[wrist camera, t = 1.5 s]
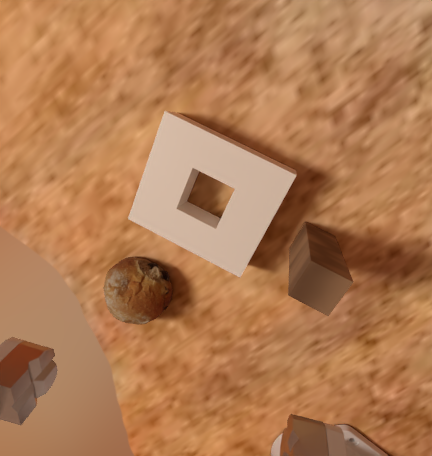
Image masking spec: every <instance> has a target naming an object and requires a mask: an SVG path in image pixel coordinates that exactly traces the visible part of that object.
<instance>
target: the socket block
mask: <svg viewBox="0 0 432 456" xmlns="http://www.w3.org/2000/svg"><path fill="white" fill-rule="evenodd" d="M199 171H200V172H202V173H204V174H206V175H208V176H210V177H212V178H214V179H216V180H218V181H220V182H222V183H224V184H226V185H228V186H230V187H232V188H234V189H235V190H234V192H233V194H232V196H231V198H230V200H229V203H228V205H227V207H226V209H225V211H224V213H223V215H222V217H221V218H219V217H217V216H215V215H213V214H211V213H209V212H207V211H205V210H203V209H201V208H199V207H197V206H195V205H193V204H191V203H189V202H188V201H187V200H188V198H189V195H190V193H191V190H192V188H193V186H194V183H195V181H196V178H197V176H198V174H199ZM296 176H297V173H296V170H294V169H292V168H290V167H288V166H286V165H284V164H282V163H280V162H278V161H276V160H274V159H272V158H270V157H268V156H265V155H263V154H261V153H259V152H257V151H255V150H253V149H251V148H249V147H247V146H245V145H243V144H241V143H239V142H237V141H235V140H233V139H231V138H228V137H226V136H224V135H222V134H220V133H218V132H216V131H214V130H212V129H210V128H208V127H206V126H204V125H202V124H200V123H198V122H196V121H194V120H192V119H189V118H187V117H185V116H183V115H181V114H179V113H176V112H169V111H165V112H164V115H163V118H162V120H161V123H160V126H159V129H158V132H157V135H156V138H155V141H154V144H153V147H152V150H151V153H150V156H149V159H148V162H147V165H146V168H145V170H144V173H143V176H142V179H141V182H140V185H139V188H138V191H137V194H136V197H135V200H134V203H133V206H132V209H131V212H130V215H129V217H128V219H129V220H131V221H133V222H135V223H137V224H139V225H141V226H143V227H145V228H146V229H148V230H150V231H152V232H154V233H156V234H158V235H160V236H162V237H164V238H166V239H167V240H169V241H171V242H173V243H175V244H177V245H179V246H181V247H183V248H185V249H187V250H188V251H190V252H192V253H194V254H196V255H198V256H200V257H202V258H204V259H206V260H207V261H209V262H211V263H213V264H215V265H217V266H219V267H221V268H223V269H225V270H227V271H228V272H230V273H232V274H234V275H236V276H238V277H241V275H242V273H243V272H244V270H245V268H246V266H247V264H248V262H249V261H250V259H251V257H252V255H253V253H254V252H255V250H256V248H257V246H258V244H259V243H260V241H261V239H262V237H263V235H264V234H265V232H266V230H267V228H268V226H269V224H270V223H271V221H272V219H273V217H274V215H275V214H276V212H277V210H278V208H279V206H280V205H281V203H282V201H283V199H284V197H285V196H286V194H287V192H288V190H289V188H290V186H291V185H292V183H293V181H294V179H295V177H296Z"/></svg>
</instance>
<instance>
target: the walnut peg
mask: <svg viewBox="0 0 432 456" xmlns="http://www.w3.org/2000/svg"><path fill="white" fill-rule="evenodd" d="M352 283H353V280H352V278H351V275H350V273H349V270H348V268H347V265H346V262H345V260H344V257H343V255H342V252H341V250H340V247H339V245H338V242H337V240H336V237H335V236H333V235H331V234H329V233H327V232H325V231H323V230H321V229H319V228H317V227H315V226H313V225H311V224H309V223H307V222H305V223H304V225H303V226H302V228H301V230H300V231H299V233H298V235H297V236H296V238H295V240H294V241H293V243H292V245H291V246H290V252H289V293H288V295H289V296H291V297H293V298H294V299H296V300H298V301H300V302H302V303H304V304H306V305H308V306H310V307H312V308H314V309H316V310H317V311H319V312H321V313H323V314H325V315H327V316H329V315H330V313H331V312H332V310H333V309H334V308H335V306H336V305H337V304H338V302H339V301H340V300H341V298H342V297H343V296H344V294H345V293H346V292H347V290H348V289H349V287H350V286H351V285H352Z"/></svg>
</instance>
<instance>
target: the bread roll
mask: <svg viewBox="0 0 432 456" xmlns="http://www.w3.org/2000/svg"><path fill="white" fill-rule="evenodd" d="M172 294H173V290H172V285H171V282H170V280H169V274H168V272H166V271H164V269H163V268H162V267H160V266H158V265H157V264H156V263H152V262H150V261H149V260H147V259H142V258H136V257H128V258H125V259H123V260H121V261H120V262H119V263H118V264H116V265H114V266H113V267H112V268H111V269H110V270H109V271H108V273H107V276H106V280H105V285H104V295H105V300H106V303H107V306H108V309H109V311H110V313H111V314H112V315H113V316H114V317H115V318H116V319H118V320H120V321H122V322H125V323H133V324H145V323H147V322H150V321H152V320H154V319H156V318H157V317H158V316H159V315H160V314H162V313H163V311H164V310H165V309H166V308H167V307H168V305H169V303H170V301H171V299H172Z"/></svg>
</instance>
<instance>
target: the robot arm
mask: <svg viewBox="0 0 432 456" xmlns="http://www.w3.org/2000/svg"><path fill="white" fill-rule="evenodd" d="M54 356H55V353H54V349H51V348H48V347H45V346H41V345H38V344H34V343H31V342H27V341H24V340H21V339H17V338H14V337H11V338H10V339H7V340H5V341H4V342H3V343H2V344H1V345H0V419H1V420H4V421H8V422H11V423H15V424H19V425H21V424H22V423H23V422H24V421H25V419H26V418H27V417H28V416H29V414H30V413H31V412H32V410H33V409H34V408H35V407H36V404H37V398H38V397H40V396H42V395H44V394H46V392H47V391H48V390H49V388H50V387H51V386H52V384H53V382H54V380H55V378H56V375H57V365H56V363H55V362H54V361H53V360H52V359H53V357H54ZM271 456H389V455H387V454H386V453H385V452H383V451H382V450H381V449H379V448H378V447H377V446H375V445H374V444H373V443H372V442H370V441H369V440H368V439H366V438H365V437H364V436H362V435H361V434H360V433H359V432H357V431H356V430H355V429H353V428H352V427H350V426H348V425H336V426H334V425H330V424H326V423H323V422H321V421H317V420H313V419H309V418H305V417H301V416H297V415H293V414H290V415H289V418H288V420H287V428H286V429H284V431H283V433H282V434H281V435H280V436H279V437H278V438H277V439H276V440H275V441H274V443H273V445H272V449H271Z"/></svg>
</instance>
